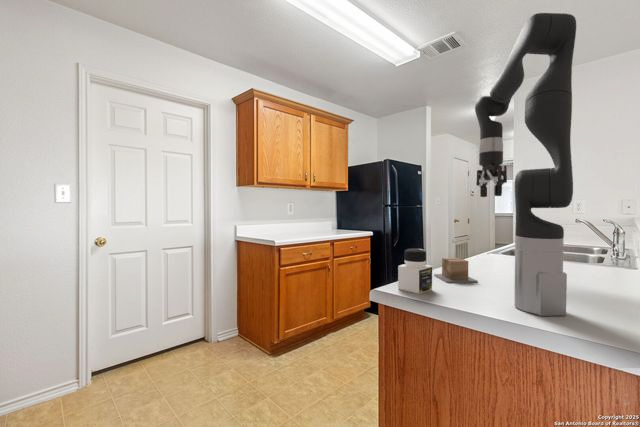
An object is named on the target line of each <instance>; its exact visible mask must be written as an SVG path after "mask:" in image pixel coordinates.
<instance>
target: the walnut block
mask: <svg viewBox="0 0 640 427" xmlns="http://www.w3.org/2000/svg"><path fill="white" fill-rule="evenodd" d="M441 274H442V276H444V277H446V278H448V279H450V280H453V279H468V277H469V260H466V259H464V258H460V257H442V258H441Z"/></svg>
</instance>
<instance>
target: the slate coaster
mask: <svg viewBox="0 0 640 427" xmlns="http://www.w3.org/2000/svg"><path fill="white" fill-rule="evenodd" d="M433 276H434V277H436V278H437V279H439V280H441V281H443V282H444V283H447V284H468V283H469V284H470V283H473V284H474V283H475V284H476V283H477V284H478V283H479V281H478V280H477V279H475V278H472V277H470V276H468V279H453V280H450V279H448V278H446V277H444V276H442V273H434V274H433Z"/></svg>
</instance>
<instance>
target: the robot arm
mask: <svg viewBox="0 0 640 427" xmlns="http://www.w3.org/2000/svg"><path fill="white" fill-rule="evenodd" d="M576 34H577V19H576V17H575V16H574V15H573V14H570V13H557V12H555V13H554V12H553V13H552V12H539V13H535V14H533V15H532V16H530V17H529V18H528V20H526V22H525V24H524V25H523V27H522V29H521V31H520V32H519V35H518V36H517V39H516V42H515V44H514V45H513V47H512V50H511V52H510V54H509V56H508V59H507V60H506V64H505V65H504V68H503V70H502V72H501V73H500V75H499V77H498V78H497V79H496V81H495V83H494V84H493V85H492V87H491V89H490V92H489V95H485V96H480V97H479V98H478V99H477V100H476V101H475V105H474V111H475V112H474V113H475V115H476V118H477V121H478V125H479V136H480V140H479V146H478V147H479V150H478V152H479V153H478V154H479V155H478V165H479V166H481V167H482V169H478V170H476V186H478V187H480V188H479V189H480V190H479V192H480V195H479V196H480V197H481V198H487V197H488V184H489V183H491V181H492V182H493V184H494V186H493V187H494V190H493V191H494V192H493V194H494V197H501V196H503V194H502V193H503V185H504V184H505V183H506V184H507V182H508V178H507V177H508V174H507V170H508V169H507V165H503V164H504V142H503V133H504V132H503V123H502V122H500V121H496V120H493V119H491V117H501V116H504V115H505V114H506V113H507V112H508V109H509V107H510V104H511V100H512V98H513V97H514V95H515V93H516V92H518V90H519V89H520V88H521V86H522V84H523V82H524V79H525V78H524V77H525V70H524V64H523V59H524V57H525V56H526V55H528V54H529V55H543V56H544V55H545V56H546V55H547V56H548V57H549V65H548V68H547V69H546V71H545V72H544V73H543V75H541V77H540V78H539V79H538V80H537V81H536V82H535V83H534V85H533V86H532V87H531V88H530V89H529V91H528V92H527V95H526V98H525V100H524V101H525V102H524V103H525V104H524V123H525V126H526V128H527V129H528V131H529V132H530V133H531V134H532V135H533V136H534V137H535V139H537V141H538V142H540V143H541V145H542V146H543V147H544V149H545V150H546V151H547V153H548V154H549V156H550V157H551V160H552V162H553V165H554V167H549V168H548V167H547V168H533V169H521V170H520V171H517V174H516V175H515V179H514V202H515V203H514V204H515V232H514V233H515V237H514V239H515V240H514V246H515V247H514V307H515V308H516V309H518V310H520V311H523V312H526V313H531V314H535V315H537V316H540V317H541V316H546V317H547V316H548V317H549V316H550V317H551V316H567V288H568V287H567V285H568V284H567V282H568V280H567V279H568V276H567V275H568V274H567V273H566V272H564V242H565V241H564V237H565V233H564V232H565V230H564V229H565V228H564V227H563V226H562V225H560V224H558V223H554V222H551V221H548V220H545V219H542V218H541V217H539V216H537V215H535V214H534V213H533V212H532V209H561V208H562V209H563V208H568V207H569V206H570V205H571V202H572V200H573V196H574V176H573V164H572V162H573V161H572V149H571V148H572V146H571V130H572V114H573V112H572V111H573V91H572V90H573V89H572V84H573V83H572V81H573V78H572V75H573V60H574V59H573V58H574V50H575V42H576V36H577V35H576Z"/></svg>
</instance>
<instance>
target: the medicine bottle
mask: <svg viewBox="0 0 640 427" xmlns="http://www.w3.org/2000/svg"><path fill="white" fill-rule="evenodd" d="M397 270H398V271H397V272H398V273H397V275H398V276H397V277H398V278H397V287H398V290H401V291H404V292H409V293H413V294H417V295H421V294H423V293H427V292H430V291H432V290H433V266H432V265H430V264H429V265H428V264H427V251H426V250H424V249H422V248H407V249H405V250H404V264H400V265H398V267H397Z"/></svg>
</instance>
